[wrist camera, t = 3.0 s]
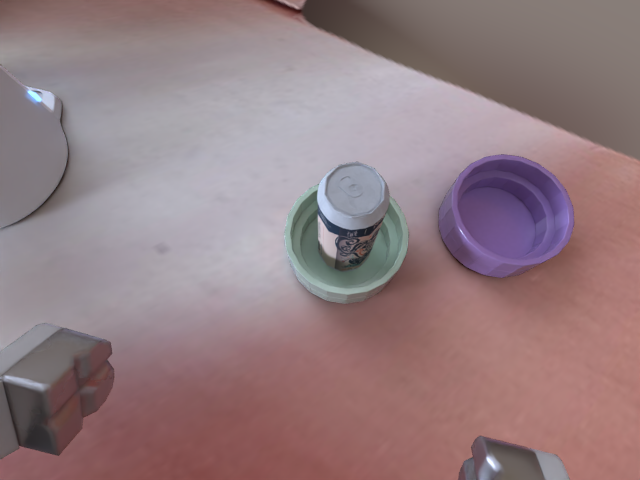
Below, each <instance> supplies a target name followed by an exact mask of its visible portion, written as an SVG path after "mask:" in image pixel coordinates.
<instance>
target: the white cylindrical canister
mask: <svg viewBox="0 0 640 480" xmlns="http://www.w3.org/2000/svg"><path fill="white" fill-rule="evenodd" d="M317 200H318V252H319V254H320V257H321V259H322V260H323V262H324V263H325V264H326V265H327V266H329V267H330V268H332V269H334V270H337V271H341V272H347V271H353V270H355V269H357V268H359V267H361V266H362V265H363V264H364V263H365V261H366V260H367V259H368V257H369V255H370V252H371V250H372V247H373V245H374V242H375V240H376V237H377V235H378V232H379V230H380V227H381V225H382V222H383V220H384V217H385V215H386V212H387V209H388V206H389V202H390V193H389V189H388V186H387V184H386V182H385V180H384V179H383V177H382V176H381V175H380V174H379V173H378V172H377V171H376V170H375V168H372V167H370V166H367V165H365V164H362V163H360V162H352V163H346V164H341V165H338V166H337V167H335V168H333V169H332V170H330V171H329V172H328V173H327V174H326V175H325V176H324V178H323V179H322V180H321V182H320V185H319V187H318V193H317Z"/></svg>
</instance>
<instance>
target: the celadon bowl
mask: <svg viewBox="0 0 640 480" xmlns="http://www.w3.org/2000/svg"><path fill="white" fill-rule="evenodd" d="M319 185H320V184H318V185H316V186H313V187H311V188H310V189H309V190H307V191H306V192H305V193H304V194H303V195H302V196H301V197H300V198H298V199H297V201H296V202H295V204H294V206H293V207H292V209H291V211H290V213H289V214H288V217H287V222H286V227H285V232H284V235H285V242H286V250H287V254H288V258H289V262H290V265H291V267H292V269H293V271H294V273H295V275H296V277H297V279H298V281H299V282H300V283H301V284H302V285H303V286H304V287H305V288H306V289H307V290H308V291H309V292H311V293H312V294H314V295H316V296H318V297H320V298H322V299H324V300H326V301H331V302H337V303H343V304H347V303H354V302H360V301H364V300H366V299H368V298H370V297H372V296H374V295H376V294H378V293H379V292H380V291H381V290H382V289H383V288H384V287H385V286H386V285H387V284H388V283H389V282H390V281H391V280H392V278H393V277H394V275H395V274H396V273H397V271H398V270H399V268H400V266H401V264H402V262H403V260H404V258H405V256H406V253H407V249H408V238H409V231H408V227H407V223H406V219H405V216H404V214H403V212H402V211H401V209H400V208H399V206H398V204H397V203H396V201H395V200H394V199H393V198H392V197H391V196H390V202H389V206H388V209H387V212H386V215H385V217H384V220H383V222H382V225H381V227H380V230H379V232H378V235H377V237H376V240H375V242H374V245H373V247H372V250H371V252H370V255H369V257H368V259H367V260H366V261H365V263H364V264H363V265H362V266H361V267H359V268H357V269H355V270H353V271H347V272H341V271H337V270H334V269H332V268H330V267H329V266H327V265H326V264H325V263H324V262H323V260H322V259H321V257H320V254H319V252H318V200H317V193H318V187H319Z"/></svg>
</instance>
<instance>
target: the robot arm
mask: <svg viewBox="0 0 640 480" xmlns="http://www.w3.org/2000/svg"><path fill="white" fill-rule="evenodd" d="M61 111H62V103H61V100H60V99H59V98H58V97H57V96H56V95H54V94H53V93H52V92H49V91H45V90H41V89H37V88H33V87H29V86H25V85H23V84H22V83H21V82H20V81H19V80H17V79H16V78H15V77H14V76H13V75H12V74H11V73H10V72H9V71H7V70H6V69H5V68H4V67H3V66H2V65H1V64H0V228H3V227H6V226H8V225H11V224H13V223H15V222H17V221H19V220H21V219H23V218H24V217H26V216H27V215H29V214H30V213H32V212H33V211H34V210H36V209H37V208H38V207H39V206H40V205H41V204H42V203H44V201H45V200H46V199H47V198H48V197H49V196H50V195H51V194H52V192H53V191H54V190H55V188H56V187H57V185H58V183H59V182H60V180H61V178H62V176H63V173H64V170H65V167H66V163H67V157H68V147H67V141H66V137H65V135H64V132H63V130H62V127H61V124H60V118H61ZM111 355H112V347H111V342H109V341H107V340H105V339H102V338H98V337H95V336H91V335H88V334H84V333H81V332H77V331H74V330H70V329H67V328H62V327H59V326H55V325H52V324H48V323H43V324H39V325H36V326H35V327H33V328H32V329H31V330H29V331H28V332H26V333H25V334H24V335H22V336H21V337H20V338H18V339H17V340H16V341H14V342H13V343H11V344H10V345H9V346H7V347H6V348H5V349H3V350H2V351H0V459H2V458H4V457H5V456H7V455H9V454H11V453H12V452H14V451H16V450H18V449H19V446H22V447H26V448H30V449H34V450H38V451H42V452H46V453H50V454H54V455H57V456H59V455H60V454H61V453H62V451H63V450H64V449H65V448H66V447H67V446H68V444H69V443H70V442H71V441H72V440H73V439H74V437H75V436H76V435H77V434H78V433H79V432H80V430H81V429H82V426H83V418H84V417H86V416H88V415H90V414H92V413H94V412H96V411H97V410H98V409H99V408H100V407H101V406H102V404H103V403H104V402H105V401H106V399H107V397H108V395H109V393H110V391H111V389H112V386H113V381H114V368H113V367H112V366H111V364H110V363H109V362H108V360H107V359H108V358H109V357H110V356H111ZM471 450H472V455H473V457H472V458H470V459H468V460H466V461H464V463H463V465H462V467H461V469H460V472H459V477H458V480H570V479H569V476H568V474H567V472H566V469H565V467H564V465H563V462H562V460H561V459H560V458H559V457H558V456H557V455H555V454H551V453H547V452H543V451H539V450H535V449H531V448H527V447H524V446H520V445H516V444H512V443H508V442H504V441H500V440H496V439H491V438H487V437H483V436H479V437H477V438H476V439H475V441H474V442H473V444H472V446H471Z"/></svg>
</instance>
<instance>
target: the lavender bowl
mask: <svg viewBox="0 0 640 480" xmlns="http://www.w3.org/2000/svg"><path fill="white" fill-rule="evenodd" d="M573 227H574V211H573V205H572V203H571V200H570V198H569V195H568V193H567V191H566V189H565V188H564V187H563V185H562V184H561V183H560V182H559V180H558V179H557V178H556V177H555V176H554V175H553V174H552V173H551V172H549V171H548V170H546V169H545V168H544V167H542V166H541V165H540V164H538V163H535V162H533V161H530V160H528V159H526V158H523V157H519V156H512V155H504V154H502V155H495V156H488V157H484V158H482V159H480V160H478V161H476V162H474V163H471V164H470V165H469V166H468V167H467V168H466V169H465V170H464V171H463V172H462V173H461V174H460V175H459V176H458V178H457V179H456V181H455V182H454V184H453V185H452V187H451V188H450V189H449V191H448V192H447V194H446V195H445V197H444V200H443V202H442V204H441V206H440V209H439V228H440V232H441V235H442V239H443V241H444V243H445V244H446V246H447V247H448V249H449V250H450V252H451V253H452V255H453V256H454V257H455V258H456V259H458V260H459V261H460V262H461V263H462V264H463V265H465V266H466V267H467V268H470V269H472V270H474V271H476V272H478V273H480V274H482V275H487V276H494V277H500V278H501V277H502V278H504V277H510V276H516V275H520V274H522V273H524V272H526V271H528V270H530V269H532V268H534V267H535V266H537V265H539V264H541V263H543V262H545V261H547V260H549V259H550V258H552V257H554V256H556V255H558V254H559V253H560V251H561V250H562V249H563V248H564V247H565V245H566V244H567V243H568V242H569V240H570V237H571V234H572V230H573Z"/></svg>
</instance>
